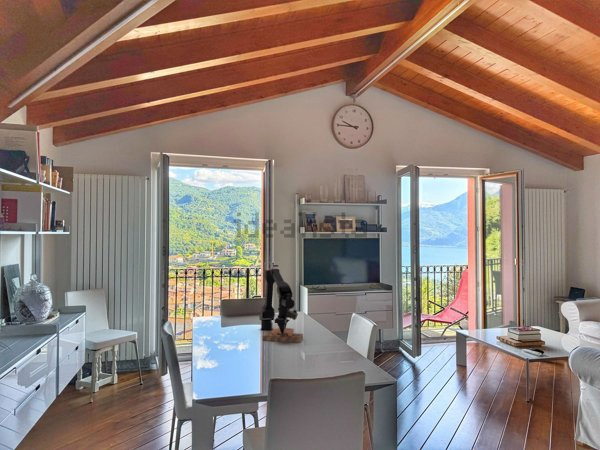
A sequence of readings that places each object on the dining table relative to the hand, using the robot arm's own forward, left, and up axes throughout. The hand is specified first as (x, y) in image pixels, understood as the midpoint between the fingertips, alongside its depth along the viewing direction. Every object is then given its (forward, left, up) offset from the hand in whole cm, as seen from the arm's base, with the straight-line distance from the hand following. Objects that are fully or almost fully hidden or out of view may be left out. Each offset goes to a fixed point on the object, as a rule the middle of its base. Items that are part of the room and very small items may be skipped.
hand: (283, 332), depth 239 cm
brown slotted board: (0, 0, -4) cm, 4 cm away
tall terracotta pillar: (0, 0, -2) cm, 3 cm away
